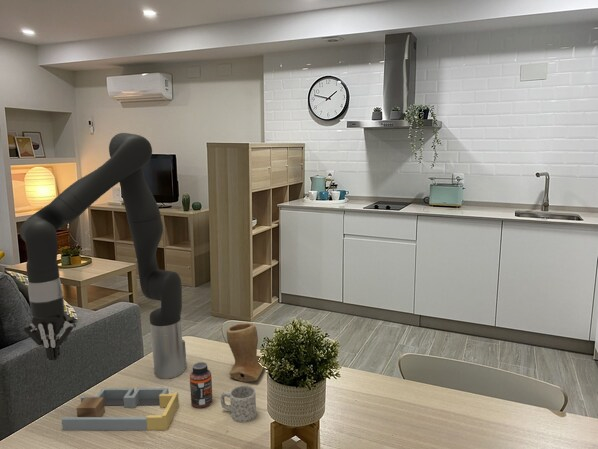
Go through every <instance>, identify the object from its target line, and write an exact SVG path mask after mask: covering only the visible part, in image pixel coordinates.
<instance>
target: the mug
mask: <svg viewBox="0 0 598 449" xmlns="http://www.w3.org/2000/svg"><path fill="white" fill-rule="evenodd" d="M225 397H227V398H230V404H226V401H225ZM256 398H257V396H256V389H255V388H254V387H253V386H251V385H238V386H235V387H234V388H232V389H231V390H230V391H223V392H221V394H220V404H221V408H223V409H224V410H227V411H228V412H230V414H231V419H232V420H233V421H234V422H237V423H247V422H251V421H253V420H254V419H255V418H256V416H257V401H256Z"/></svg>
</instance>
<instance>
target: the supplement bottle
mask: <svg viewBox="0 0 598 449" xmlns="http://www.w3.org/2000/svg"><path fill="white" fill-rule="evenodd" d="M189 386H190V387H189V388H190V400H191V402H190V403H191V405H192V406H193V407H194V408H201V409H202V408H207V407H208V406H210V405H211V404H212V403H213V399H214V398H213V382H212V372H211V370H209V367H208V363H206V362H202V361H200V362H196V363H194V364H193V365H192V371H191V372H190V374H189Z"/></svg>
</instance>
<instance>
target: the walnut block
mask: <svg viewBox="0 0 598 449" xmlns="http://www.w3.org/2000/svg"><path fill="white" fill-rule="evenodd" d="M75 409H76V417H104V415H105V413H106V408H105V406H104V397H85V398H84V400H83V401H82V402H81V401H80V403H79V404H78V405H77V406H76V408H75Z"/></svg>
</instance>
